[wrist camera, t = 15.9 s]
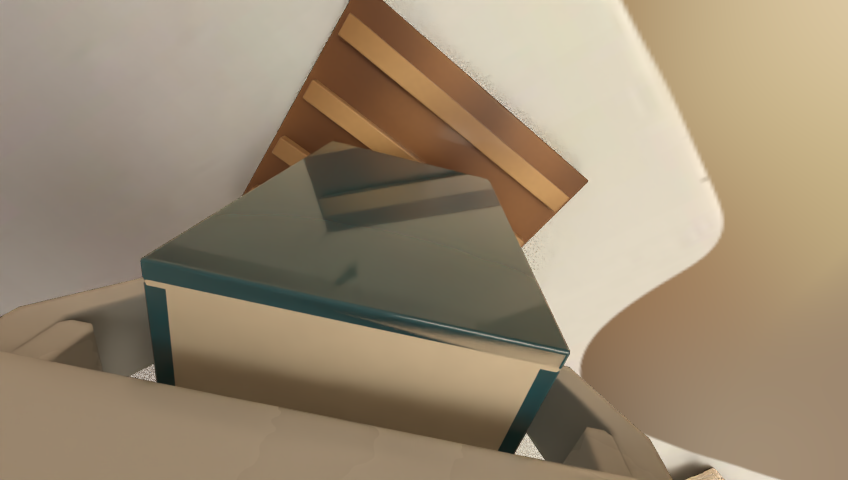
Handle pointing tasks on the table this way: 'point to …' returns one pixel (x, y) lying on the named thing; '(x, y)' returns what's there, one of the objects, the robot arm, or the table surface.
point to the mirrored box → (360, 301)
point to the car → (707, 475)
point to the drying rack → (418, 117)
